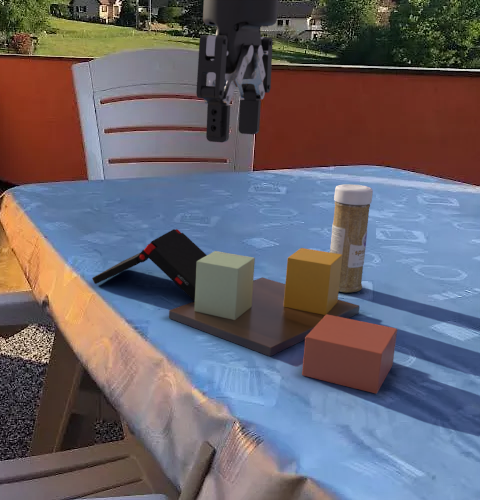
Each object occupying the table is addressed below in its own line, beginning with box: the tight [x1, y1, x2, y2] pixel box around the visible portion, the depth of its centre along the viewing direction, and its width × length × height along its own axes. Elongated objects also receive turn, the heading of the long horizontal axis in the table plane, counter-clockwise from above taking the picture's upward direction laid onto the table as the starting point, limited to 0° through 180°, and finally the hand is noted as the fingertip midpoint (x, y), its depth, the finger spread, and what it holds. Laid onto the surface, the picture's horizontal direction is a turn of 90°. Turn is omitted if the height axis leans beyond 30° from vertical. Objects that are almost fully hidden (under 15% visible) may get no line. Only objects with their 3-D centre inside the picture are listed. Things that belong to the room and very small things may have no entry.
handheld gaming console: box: [91, 228, 208, 301], centre depth 92 cm, size 9×12×10 cm
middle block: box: [194, 250, 256, 320], centre depth 81 cm, size 5×5×6 cm
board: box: [168, 277, 360, 357], centre depth 82 cm, size 18×14×1 cm
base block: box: [301, 314, 398, 395], centre depth 68 cm, size 7×7×4 cm
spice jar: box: [329, 184, 374, 294], centre depth 91 cm, size 5×5×13 cm
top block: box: [284, 247, 342, 315], centre depth 83 cm, size 5×5×6 cm
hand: (233, 137), depth 76 cm, fingers open, 8 cm apart
